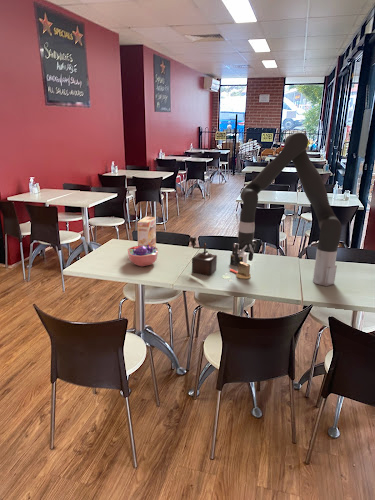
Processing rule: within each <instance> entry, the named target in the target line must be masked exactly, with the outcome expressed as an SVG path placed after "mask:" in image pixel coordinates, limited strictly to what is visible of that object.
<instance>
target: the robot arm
mask: <svg viewBox="0 0 375 500" xmlns="http://www.w3.org/2000/svg"><path fill="white" fill-rule="evenodd" d="M308 145H309V139H308V136H307V135H306V134H305V133H304V132H301V131H299V132H294V133H291V134H288V135H287V136H286V137H285V140H284V147H282V149H281V151H280V152H279V153H278V155H277V156H275V158H273V160H272V161H270V162H269V163H268V164H266V166H265V167H264V168H263V169H262V170H261V171H260V172H259V173H257V176H256V177H255V178H254V179H253V180H252V181H251V182H249V183H248V184H247V185H246V186H245V187H244V188H243V189H242V190H241V192H240V195H239V197H240V200H241V201H242V208H241V210H240V212H239V213H240V214H239V222H238V232H237V238H238V239H237V240H238V243H235V242H234V243H232V249H231V250H232V251H231V254H232V255H234V256H235V263H237V264H239V262H240V257H239V256H240V255H241V253H243V251H245V252H246V251H248V255H247V261H250V262H252V261H253V258H254V254H255V253H257V251H258V240H256V239H255V238H254V237H255V227H256V226H255V219H256V211H257V207H258V204H259V196H258V195H259V193H261V192H262V191H264V190H266V189H267V188H268V187H269V186H270V185H271V184H272V182H273V181H274V180H275V179H277V177H278V175H280V174H281V172H282V171H283V170H284V169H285V168H286V167H287V166H288V164H290V163H291V162H292V163H293V165H294V168H295V170H296V173H297V177H298V180H299V182H300V184H301V187H302V190H303V192H304V194H305V196H306V199H307V200H308V202H309V204H310V205H311V207H312V208H313V210H314V213H315V216H316V218H317V222H318V227H319V229H320V231H319V236H318V242H317V244H316V254H315V262H314V268H313V277H312V282H313V283H314V284H316V285H319V286H325V287H329V286H333V285H334V284H335V281H336V273H337V265H336V262H337V256H338V255H337V253H338V248H339V246H340V241H341V236H342V223H341V221H340V220H339V218H338V217H337V216H336V213H334V210H333V208H332V207H331V204H330V201H329V197H328V192H327V189H326V186H325V183H324V181H323V178H322V176H321V174H320V172H319V171H318V169H317V168H316V166H315V165H314V164H313V162H312V161H311V159H310V157H309V155H308V151H307V148H308ZM238 246H239V247H238ZM240 250H241V251H240Z"/></svg>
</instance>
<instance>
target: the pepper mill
mask: <svg viewBox="0 0 375 500" xmlns="http://www.w3.org/2000/svg"><path fill="white" fill-rule="evenodd" d="M188 242H190V243H191V244H190V246H191V247H192V249H195V250H196V249H197V250H198V249H199V250H200V249H203V252H198V253H197V254H196V255H195V256H194V257H192V258H191V273H192V276H194V277H195V275H194V274H197V275H203V276H209V277H211V276H212V275H213V274H214V273H215V272H216V271H217V261H218V255H217V254H212V253H209V252H208V251H207V250H206V249H207V243H206V242H205V243H203V246H196V245H197V243H196V242H197V238H196V237H195V236H190V237H189V239H188Z"/></svg>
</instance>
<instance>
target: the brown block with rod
mask: <svg viewBox="0 0 375 500" xmlns="http://www.w3.org/2000/svg"><path fill="white" fill-rule="evenodd" d="M250 269H251V265H250V264H249V263H244V262H239V264H238V266H237V270H235V269H233V268H230V269H229V271H230V272H231V271H232V273H234V274H236V276H235V277H236V278H237V279H239V280H250V279H251V275H252V274H251V273H250V271H251V270H250Z"/></svg>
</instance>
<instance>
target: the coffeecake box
mask: <svg viewBox="0 0 375 500" xmlns="http://www.w3.org/2000/svg"><path fill="white" fill-rule="evenodd" d="M156 221H157V218H156V216H144V217H143V218H141V219H139V220H138V221H137V246H140V245H150V246H154V247H156V248H157V236H156V234H157V222H156Z"/></svg>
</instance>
